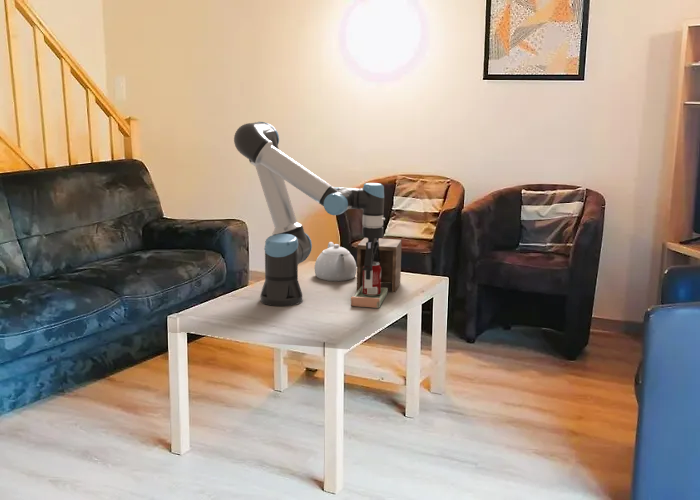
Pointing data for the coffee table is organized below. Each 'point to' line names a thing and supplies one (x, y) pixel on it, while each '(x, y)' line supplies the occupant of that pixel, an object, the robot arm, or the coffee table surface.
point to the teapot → (335, 264)
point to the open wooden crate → (382, 261)
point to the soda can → (373, 281)
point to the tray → (368, 299)
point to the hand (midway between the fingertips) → (371, 283)
